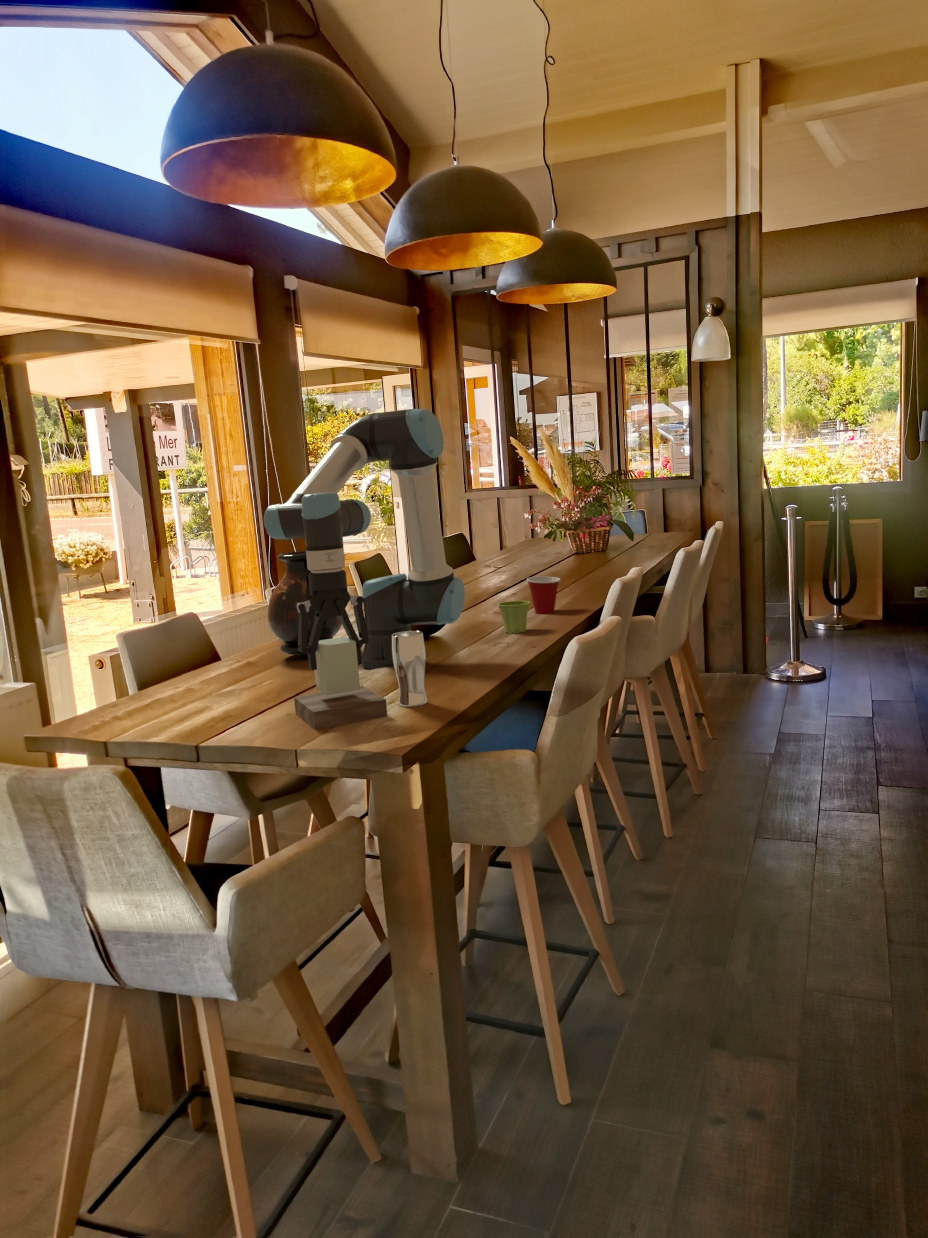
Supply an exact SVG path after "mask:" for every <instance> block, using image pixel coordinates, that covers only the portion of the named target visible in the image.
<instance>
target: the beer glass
mask: <svg viewBox="0 0 928 1238" xmlns="http://www.w3.org/2000/svg"><path fill="white" fill-rule="evenodd" d="M392 658H393V664H394V666H393V668H394V670H395V675H396V679H397V683H398V702H397V704H398V706H400V707H404V708H415V707H421V706H424V705H426V704H427V703H428V699H427V698H428V697H427V695H426V690H425V673H426V659H427V658H426V647H425V639H424V633H423V631H420V630H411V631H404V632H398V633H394V634H392Z"/></svg>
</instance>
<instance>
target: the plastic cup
mask: <svg viewBox="0 0 928 1238" xmlns="http://www.w3.org/2000/svg"><path fill="white" fill-rule="evenodd" d="M526 582H527V584H528V586H529V590H530V595H531V600H532V605H533V609H534V613H535V615H546V614H547V615H548V614H552V613H554V612H555V606H556V601H557V600H556V599H557V593H558V587H559V583H560V582H561V578H560V577H556V576H544V575H543V576H542V575H540V576H531V577H527V578H526Z"/></svg>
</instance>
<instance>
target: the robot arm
mask: <svg viewBox="0 0 928 1238" xmlns="http://www.w3.org/2000/svg"><path fill="white" fill-rule="evenodd" d="M444 443H445V442H444V435H443V430H442V427H441V424H440V422H439V420H438V417H436V416H435V414H434V413H433V412H432V411H431V410H429V409H426V408H409V409H407V408H406V409H398V410H392V411H391V410H390V411H382V412H372V413H369V414H368V413H367V414H365V415H363V416H361V417H359V418H358V419H355V420H354V421H352V422H351V423H349V424H348V425H347V426H346V427H344V428H343V429H342V430H340V432H338V434H337V435H335V437H334V438H333V439H332V440H331V442H330V445H329V451H328V452H327V453H326V454H325V456H324V457H323V458H322V459H321V460H320V461H319V462H318V464H317V465H316V466H315V467H314V468H313V469H312V471H311V472H310V473H309V474H308V476H307V477H306V478H305V479H304V480H303V481H302V482H301V483H300V485H299V486H298V487H297V488H296V490H294V492H293V493H292V494H291V495H290V497H289V498H288V499H287V500H286V502H284V503H277V504H271V505H269V506H268V507H267V508H266V510H265V511H264V514H263V525H264V529H265V530H266V533H267V535H268V536H269V538H272V539H274V540H287V541H289V540H299V539H304V541H305V551H306V556H307V567H308V570H310V571H311V573H309V575H308V577H309V587H310V597H309V600H308V601H305V602H303V603H297V604H296V609H297V611H298V614H299V616H298V650H299V651H301V652H303V653H307V654H306V655H307V658H308V667H309V669H310V670H312V671H313V672H314V673H313V674H314V681H315V683H314V684H315V685H318V686H323V681H322V670H321V660H320V654H318V653H316V650H317V647H318V643H319V639H320V635H321V631H322V627H323V623H324V622H325V619H326V617H330V616H338V617H339V619H340V621H341V623H342V627H343V629H344V631H345V633H346V635H347V638H349V639H351V640H354V641H356V650H357V661H358V664H361V666H362V667H363V668H364V669H368V670H376V669H377V670H379V669H384V668H389V667H390V668H391V667H394V664H393V658H392V634H394V633H398V632H404V631H412V630H411V625H438V626H442V625H446V624H447V625H449V624H453V623H454V624H455V622H457V621H458V620H459V618H460V616H461V615H462V612H463V608H464V604H465V597H466V596H465V593H466V592H465V591H466V590H465V584H464V582H463V580H462V579H461V578H460V577H457V576H456V577H455V574H454V569H453V567H451V566H449V564H447V561H446V554H445V546H444V539H443V534H442V525H441V519H440V513H439V512H440V511H439V507H438V506H439V505H438V499H437V493H436V492H437V491H436V485H435V478H434V472H433V471H434V469H435V467H436V466H437V465H438V457H441V456H442V454H443V451H444ZM375 462H388V463H389V468H390V471H391V472H393V473H394V474H396V477H397V478H398V485H399V492H400V499H401V504H402V510H403V511H402V512H403V517H404V523H405V529H406V535H407V542H408V548H409V555H410V559H411V560H410V561H411V562H410V563H411V568H412V569H411V570H410V571H409V573H408V574H407V575H406V573H396V574H395V573H394V574H390V575H386V576H381V577H377V578H372V579H369V580H366V581H364V583H363V585H362V596H361V595H357V594H356V595H351V594H350V593H349V589H348V581H347V571H346V570H345V569H343V568H345V567H346V560H345V550H344V538H345V537H346V538H347V537H351V536H353V537H355V536H358V535H360V534H362V533H364V532H366V530H367V529H368V528H369V526H370V525H371V519H372V516H371V512H370V509H369V507H368V505H367V504H366V503H364V502H363V501H362V500H359V499H355V498H354V499H353V498H350V499H341V500H340V496H339V495H338V493H339V492H340V491H341V489H342V488H343V487H344V486H345V484H346V483H347V482H348V481H349V480H350V478H351V477H352V476H353V474H354V473H355V472H358V471H360V470H362V469H363V468H364V467H365V466H366V465H368V464H371V463H375ZM349 602H350V605H351V606H352V608H353V609H352V610H353V614H354V619H355V622H356V627H357V632H356V630H355V628H354V626H353V624H352V622H351V620H350V617H349V614H348V612H347V609H346V608H347V606H348V604H349ZM310 606H312V608H313V609H314V610H315V611H316V613H315V617H314V624H313V628H312V632H311V636H310V640H309V643H308V647H307V629H308V615H307V612H309V607H310ZM357 633H358V635H357ZM362 648H363V651H362ZM358 672H359V670H358Z"/></svg>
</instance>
